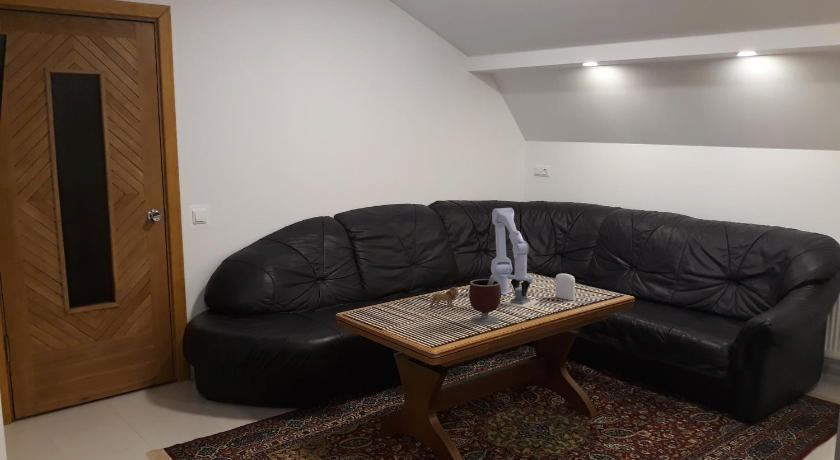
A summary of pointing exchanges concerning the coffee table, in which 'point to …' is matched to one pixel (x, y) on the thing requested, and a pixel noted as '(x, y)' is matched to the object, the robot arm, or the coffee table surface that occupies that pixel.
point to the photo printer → (565, 286)
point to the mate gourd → (485, 299)
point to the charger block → (519, 294)
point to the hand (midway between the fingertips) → (520, 295)
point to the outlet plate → (520, 302)
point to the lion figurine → (445, 297)
